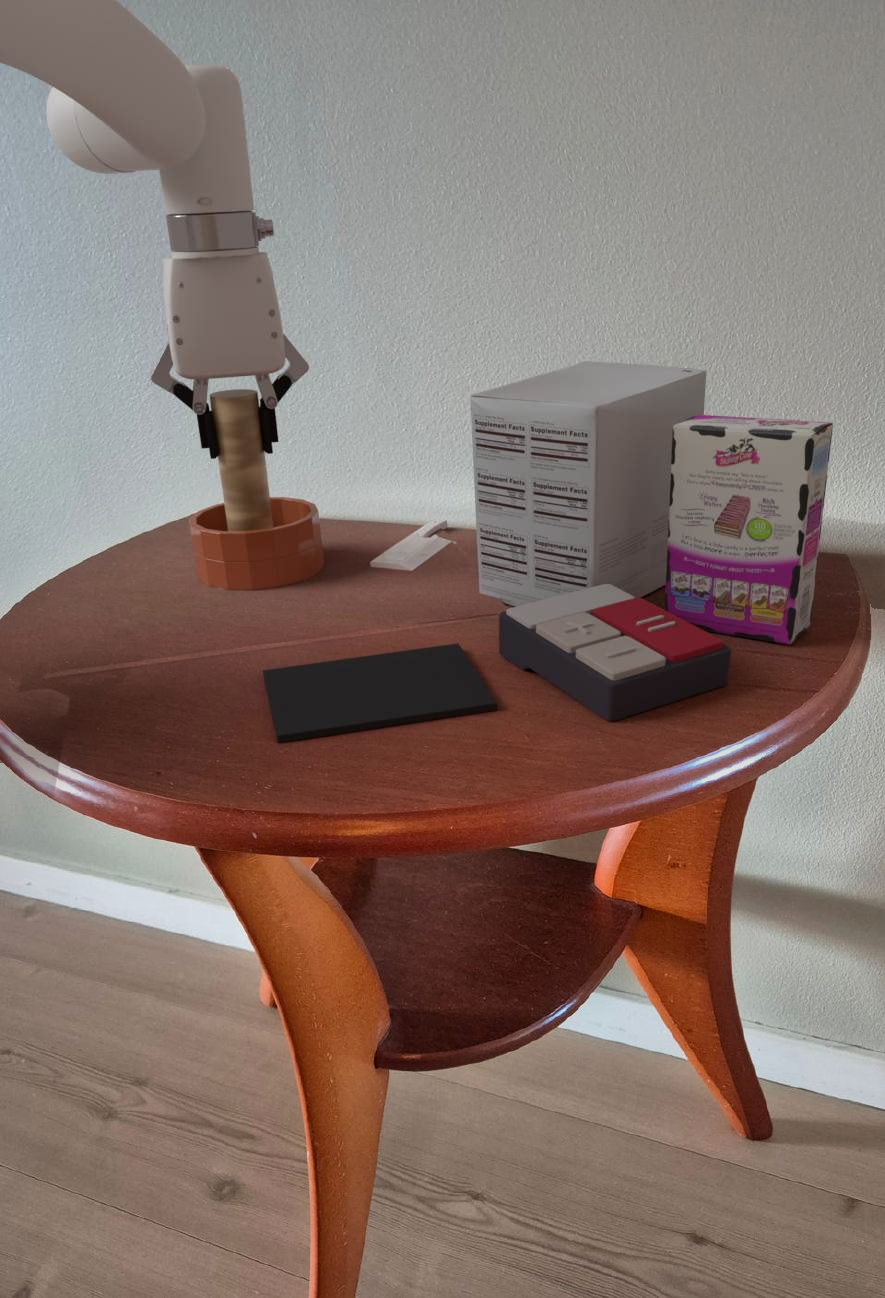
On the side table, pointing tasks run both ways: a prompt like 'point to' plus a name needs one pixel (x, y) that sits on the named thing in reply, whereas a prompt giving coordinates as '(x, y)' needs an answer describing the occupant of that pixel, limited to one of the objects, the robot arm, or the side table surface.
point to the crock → (258, 547)
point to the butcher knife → (413, 548)
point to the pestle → (241, 459)
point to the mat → (374, 692)
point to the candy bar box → (746, 524)
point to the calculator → (613, 650)
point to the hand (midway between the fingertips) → (240, 451)
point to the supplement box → (577, 478)
